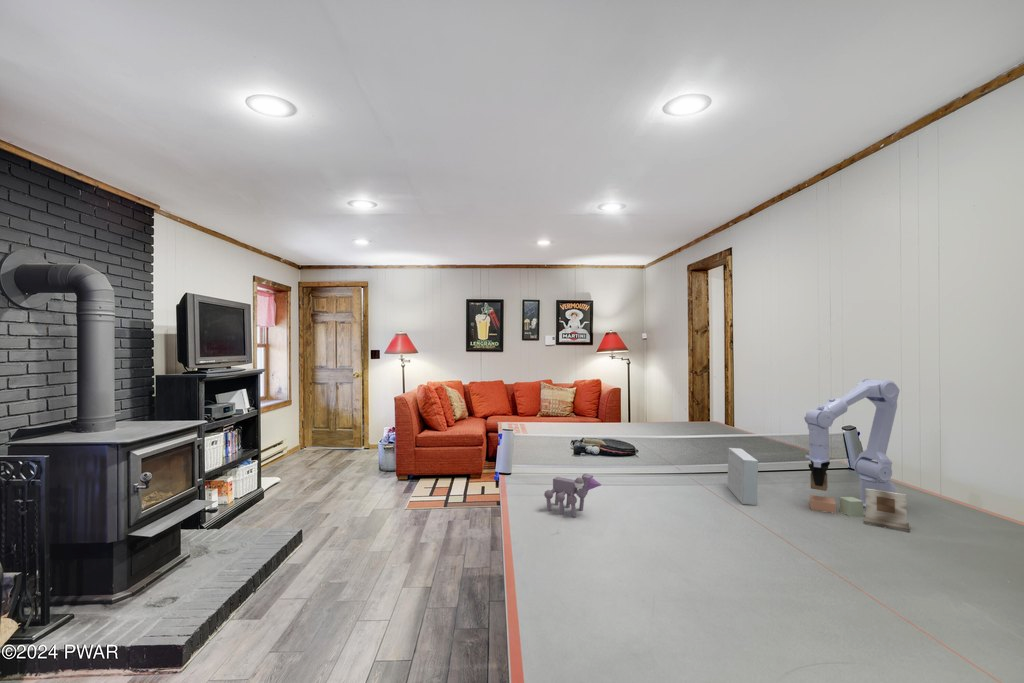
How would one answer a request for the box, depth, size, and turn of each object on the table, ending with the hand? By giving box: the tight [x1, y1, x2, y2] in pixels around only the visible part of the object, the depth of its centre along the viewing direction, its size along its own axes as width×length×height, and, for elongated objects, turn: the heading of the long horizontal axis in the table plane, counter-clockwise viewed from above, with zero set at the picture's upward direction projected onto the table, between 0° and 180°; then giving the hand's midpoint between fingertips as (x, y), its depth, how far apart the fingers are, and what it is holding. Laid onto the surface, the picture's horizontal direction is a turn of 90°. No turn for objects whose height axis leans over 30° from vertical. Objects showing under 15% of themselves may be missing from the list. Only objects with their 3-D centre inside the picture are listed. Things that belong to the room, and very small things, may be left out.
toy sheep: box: [543, 473, 602, 518], centre depth 156 cm, size 20×11×14 cm, turn 55°
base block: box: [809, 494, 836, 514], centre depth 159 cm, size 7×7×4 cm
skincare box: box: [726, 447, 759, 506], centre depth 173 cm, size 21×6×16 cm, turn 168°
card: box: [863, 489, 911, 533], centre depth 144 cm, size 11×6×10 cm, turn 51°
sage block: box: [839, 496, 864, 517], centre depth 154 cm, size 4×4×5 cm
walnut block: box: [809, 472, 828, 492], centre depth 159 cm, size 4×4×5 cm
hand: (819, 483), depth 159 cm, fingers closed on walnut block, 4 cm apart
